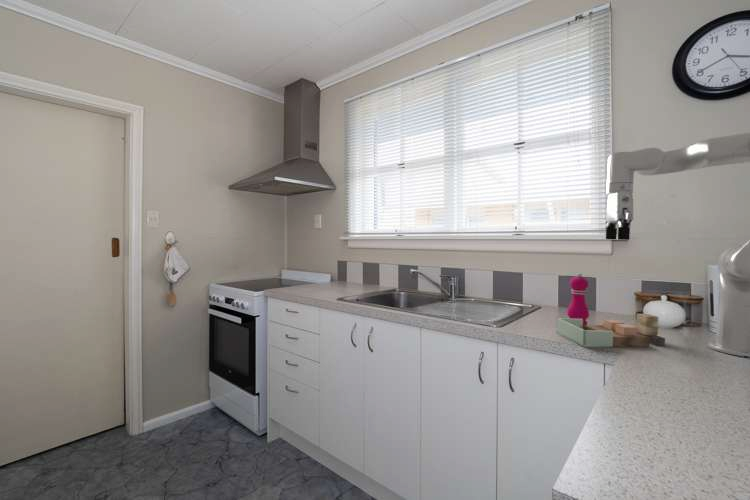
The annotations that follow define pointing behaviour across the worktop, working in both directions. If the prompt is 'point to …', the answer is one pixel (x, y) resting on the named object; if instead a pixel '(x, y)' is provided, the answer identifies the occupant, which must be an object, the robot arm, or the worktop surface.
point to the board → (622, 337)
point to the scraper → (649, 328)
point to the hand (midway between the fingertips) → (616, 239)
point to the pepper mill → (578, 299)
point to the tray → (583, 333)
